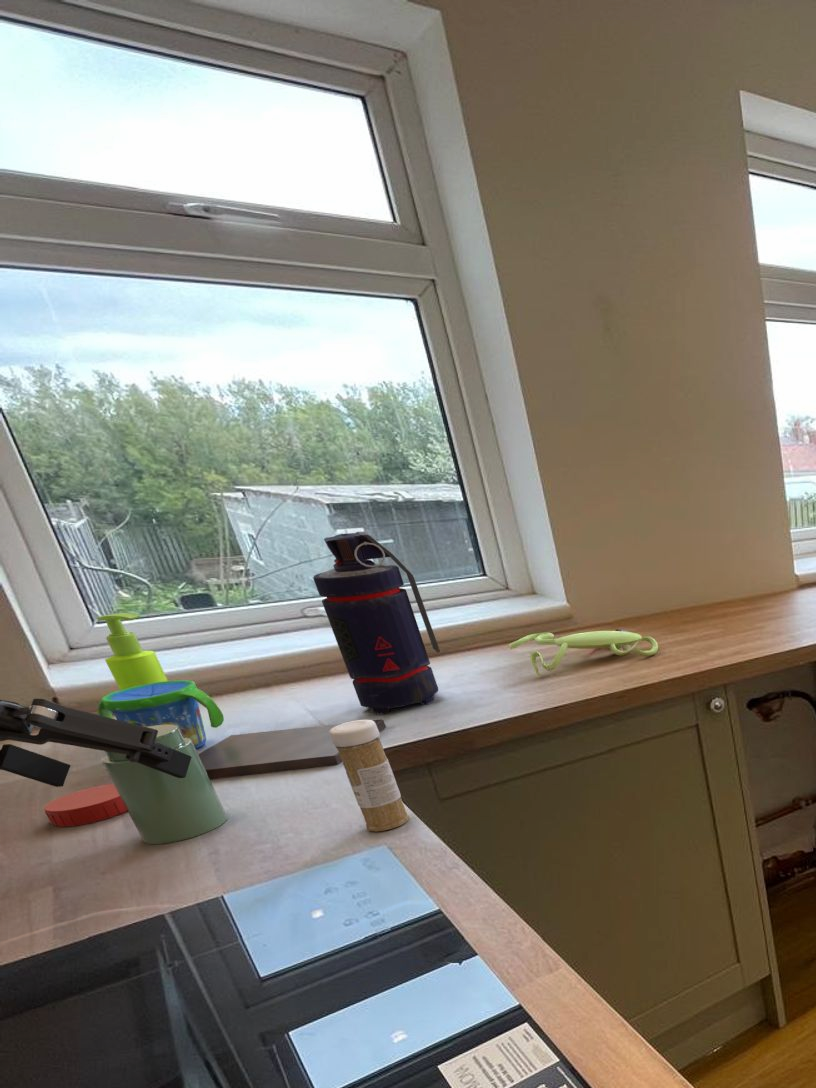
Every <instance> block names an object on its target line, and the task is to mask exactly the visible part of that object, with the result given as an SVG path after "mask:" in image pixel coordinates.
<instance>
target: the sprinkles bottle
mask: <svg viewBox="0 0 816 1088" xmlns="http://www.w3.org/2000/svg"><path fill="white" fill-rule="evenodd" d="M372 720H373V719H358V720H351V721H347V722H343V724H342V723H339V724H340V725H337V726H335V727H333V728H332V729H331V730H330V731H329V734H330V737H331V740H332V742H333V744H334V745H335V746H336V748H337V749H338V752H339V755H340V757H341V759H342V762H341V763H342V765H343V767H344V770H345V774H346V777H347V779H348V782H349V784H350V787H351V789H352V792H353V795H354V797H355V800H356V802H357V805H358V807H359V808H360V811H361V814H362V816H363V819H364V822H365V827H366V829H367V830H368V831H370V832H383V831H387V830H392V829H394V828H398V827H400V826H402V825H404V824H406V823H407V822H408V821H409V819H410V814H409V813H408V812H407V811H406V807H405V805H404V803H403V799H402V796H401V792H400V789H399V786H398V783H397V781H396V778H395V775H394V772H393V770H392V766H391V764H390V761H389V759H388V757H387V755H386V753H385V750H384V747H383V745H382V741H381V737H380V735H381V734H380V732H379V731H378V728H377V726H376V723H375V722H374V721H372Z"/></svg>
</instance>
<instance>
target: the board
mask: <svg viewBox="0 0 816 1088" xmlns="http://www.w3.org/2000/svg"><path fill="white" fill-rule="evenodd" d="M371 720H372V721H374V722H375V723H376V726H377V728H378V731H379V733H382V732H383V730H385V729H386V728H387V726H386V723H385V719H383V718H380V719H371ZM343 723H344V722H343ZM343 723H333V724H324V725H323V724H322V725H315V726H314V725H313V726H305V727H296V728H287V729H277V730H268V731H257V732H249V733H241V734H240V733H239V734H230V735H229V736H227V737H225V738H224V739H222V740H220V741H219V742H217V743H215V744H213V745H212V746H210V747H208V748H206V749H205V750H202V751H201V752H200V753H198V755H199V757H200V760H201V762H202V764H203V766H204V768H205V770H206V772H207V774H208V777H209V779H210V780H216V779H224V778H232V777H241V776H248V775H249V776H250V775H258V774H266V773H276V772H285V771H294V770H301V769H310V768H318V767H327V766H335V765H339V764H340V763H343V762H342V759H341V757H340V755H339V752H338V749H337V748H336V746H335V745H334V744H333V742H332V740H331V737H330V734H329V731H330V730H331V729H332V728H333V727H335V726H337V725H340V724H343Z"/></svg>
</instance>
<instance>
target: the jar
mask: <svg viewBox="0 0 816 1088" xmlns="http://www.w3.org/2000/svg"><path fill="white" fill-rule="evenodd" d="M148 728H153V729H156V730H158V734H157V737H156V740H155V742H157V743H160V744H162V745H165V746H167V747H170V748H172V749H174V750H177V751H179V752H182V753H184V754H187V755H189V756H191V761H190V764H189V767H188V770H187V774H186V777H185V778H177V777H174V776H172V775H169V774H166V773H164V772H161V771H158V770H156V769H153V768H150V767H148V766H145V765H142V764H140V763H137V762H129V761H130V760H129V759H127V758H126V755H127V754H121V753H115V752H109V751H103V752H104V753H105V756H103V757H102V758H101V763H102V765H103V767H104V769H105V771H106V773H107V775H108V776H109V778H110V780H111V782H112V784H114V786H115V788H116V790H117V792H118V794H119V796H120V798H121V799H122V801H123V803H124V805H125V807H126V809H127V812H128V815H129V817H130V819H131V821H132V822H133V824H134V826H135V828H136V830H137V832H138V834H139V835H140V838H141V839H142V841H143V842H144V843H145V844H149V845H164V844H170V843H177V842H180V841H184V840H187V839H192V838H195V837H197V836H201V835H203V834H205V833H209V832H210V831H213V830H215V829H217V828H219V827H220V826H222V825H224V824H225V823H226V821H227V820H228V815H227V813H226V811H225V808H224V806H223V804H222V802H221V800H220V798H219V796H218V794H217V792H216V789H215V787H214V785H213V783H212V781H211V779H209V777H208V774H207V772H206V770H205V768H204V766H203V764H202V762H201V760H200V757H199V755H198V754H199V753H198V751H197V748H196V749H195V747H194V745H193V743H192V740H191V739H189V738H183V736H182V734H181V732H180V730H179V728H178V726H176V725H156V726H149V727H148Z"/></svg>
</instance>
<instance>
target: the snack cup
mask: <svg viewBox="0 0 816 1088" xmlns="http://www.w3.org/2000/svg"><path fill="white" fill-rule="evenodd" d="M199 705H201V706H203V707H204V708H206V710H207V713H208V719H209V722H210V726H211V728H215V729H216V728H219V727H220V726H221V725H223V723H224V721H225V719H224V718H225V717H224V714H223V712H222V710H221V709H220V708H219V706H218V704H217V703H216V702H215V701H214V700H213V699H212V698H211V697H210V695H209V694H207V693H206V692H205V691H203V690H201V689H199V688H198V687H197V685H196V683H195V681H192V680H187V679H178V680H176V679H175V680H168V681H164V682H157V683H150V684H145V685H140V686H135V687H130V688H126V689H123V690H120V689H119V690H117V691H116V690H115V691H113V692H111V693H108V694H106V695H104V696H103V697H102V698H101V700H100V702H99V703H98V705H97V706H98V707H97V715H100V716H104V717H108V718H112V719H116V720H120V721H124V722H128V723H132V724H136V725H140V726H144V727H149V726H156V725H176V726H178V728H179V730H180V732H181V734H182V736H183V738H189V739H191V740H192V743H193V745H194V747H195V749H196V750H197V749H198V748H201V747H202V746H203V745H204V744H205V743H206V742H207V736H206V735H207V734H206V731H205V726H204V722H203V717H202V715H201V710H200V706H199ZM113 715H114V716H113Z"/></svg>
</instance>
